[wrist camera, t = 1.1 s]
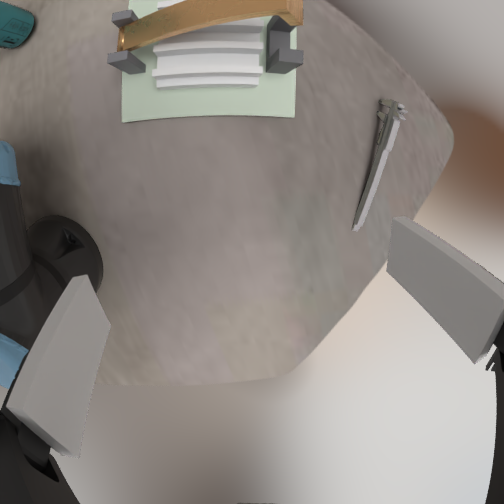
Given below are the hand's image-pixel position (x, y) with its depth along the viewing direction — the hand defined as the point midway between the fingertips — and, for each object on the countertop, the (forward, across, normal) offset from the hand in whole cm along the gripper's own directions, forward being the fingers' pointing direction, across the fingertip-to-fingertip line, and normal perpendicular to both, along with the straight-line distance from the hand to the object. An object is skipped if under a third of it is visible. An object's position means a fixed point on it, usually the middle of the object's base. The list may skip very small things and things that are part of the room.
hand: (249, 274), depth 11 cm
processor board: (+26, +1, +16) cm, 31 cm away
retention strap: (+17, +1, +16) cm, 23 cm away
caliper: (+26, +22, -2) cm, 34 cm away
